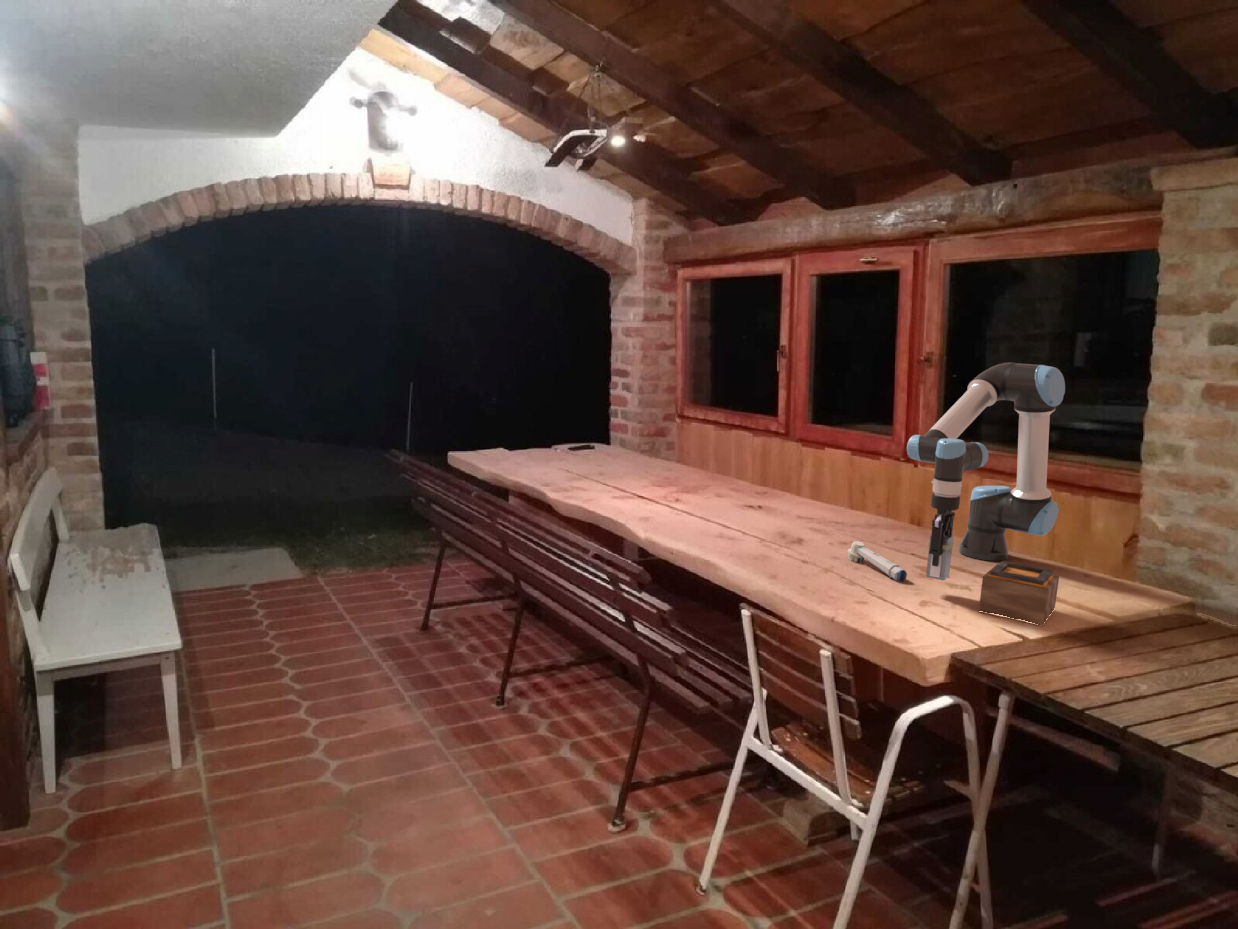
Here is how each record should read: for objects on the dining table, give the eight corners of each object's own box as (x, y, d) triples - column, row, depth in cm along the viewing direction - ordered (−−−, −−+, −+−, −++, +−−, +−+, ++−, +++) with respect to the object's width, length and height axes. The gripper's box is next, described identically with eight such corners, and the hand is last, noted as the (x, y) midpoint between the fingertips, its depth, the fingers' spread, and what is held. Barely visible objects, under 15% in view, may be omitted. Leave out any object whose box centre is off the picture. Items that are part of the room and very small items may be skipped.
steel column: (931, 572, 263) (935, 532, 260) (949, 576, 260) (953, 535, 257) (925, 576, 259) (929, 536, 256) (944, 580, 256) (948, 539, 253)
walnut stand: (993, 597, 258) (998, 558, 256) (1054, 610, 249) (1060, 570, 247) (978, 612, 246) (983, 571, 243) (1042, 626, 237) (1048, 583, 234)
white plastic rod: (895, 570, 268) (846, 537, 290) (891, 591, 270) (843, 556, 292) (910, 569, 270) (860, 536, 292) (905, 589, 272) (856, 555, 294)
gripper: (942, 486, 264) (934, 564, 268) (922, 497, 249) (914, 579, 254) (968, 490, 260) (960, 569, 264) (950, 502, 245) (941, 584, 250)
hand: (937, 573), depth 259 cm, fingers closed on steel column, 5 cm apart
